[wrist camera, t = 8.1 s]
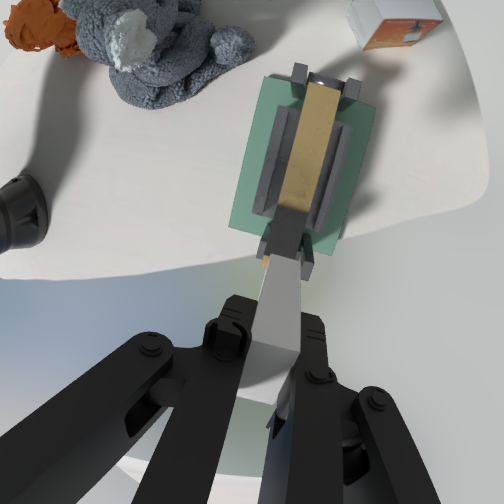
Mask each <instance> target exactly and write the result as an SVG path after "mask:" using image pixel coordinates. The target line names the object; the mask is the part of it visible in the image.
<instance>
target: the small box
mask: <svg viewBox="0 0 504 504" xmlns="http://www.w3.org/2000/svg"><path fill="white" fill-rule="evenodd" d="M347 19H348V21H349V23H350V25H351V27H352V29H353V32H354V34H355V36H356V38H357V40H358V43H359V45H360V47H361V50H367V49H374V48H385V47H403V46H412V45H413V44H414V43H416V42H417V41H418V40H419V39H421V38H422V37H423V36H424V35H426V34H427V33H428V32H430V31H431V30H432V29H433V28H435V27H436V26H437V25H439V24H440V23H441V22H443V19H442V17H441V14H440V13H439V11H438V9H437V7H436V5H435V3H434V2H433V0H353V2H352V5H351V7H350V10H349V13H348V15H347Z"/></svg>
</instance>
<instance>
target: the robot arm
mask: <svg viewBox="0 0 504 504" xmlns="http://www.w3.org/2000/svg"><path fill="white" fill-rule="evenodd" d="M46 230H47V208H46V203H45V199H44V196H43V193H42V191H41V189H40V187H39V185H38V183H37V182H36V181H35V180H34V179H33V178H32V177H31V176H29V175H22V176H18V177H15V178H13V179H12V180H10V181H9V182H8V183H7V184H5V185H4V186H3V187H1V188H0V254H2V253H4V252H6V251H8V250H10V249H22V248H31V247H33V246H35V245H37V244H39V243H40V242H41V241H42V240H43V239H44V237H45V234H46ZM236 396H239V397H243V398H247V399H251V400H255V401H259V402H263V403H267V404H272V405H274V403H275V401H276V400H277V398H278V400H277V408H276V409H275V411H274V413H273V415H272V417H271V418H270V420H269V422H268V424H267V426H266V428H269V427H270V433H269V439H268V446H267V452H266V458H265V464H264V470H263V476H262V482H261V488H260V493H259V499H258V504H441V503H440V500H439V498H438V496H437V493H436V490H435V488H434V486H433V483H432V481H431V479H430V476H429V474H428V472H427V469H426V467H425V465H424V463H423V460H422V458H421V456H420V454H419V451H418V449H417V447H416V445H415V443H414V441H413V439H412V437H411V434H410V432H409V430H408V428H407V426H406V424H405V422H404V420H403V418H402V416H401V414H400V412H399V410H398V408H397V406H396V404H395V402H394V400H393V398H392V397H391V396H390V394H389V393H387V392H386V391H385V390H384V389H381V388H379V387H375V386H368V387H365V388H363V389H362V390H361V391H360V392H359V393H358V392H356V391H353V390H351V389H348V388H346V387H344V386H343V385H341V384H339V383H338V382H337V378H336V375H335V373H334V372H333V370H332V369H331V368H330V367H328V357H327V345H326V335H325V327H324V323H323V322H322V320H321V319H320V317H319V316H316V315H312V314H308V313H304V312H301V270H300V261H297V260H293V259H289V258H286V257H282V256H279V255H275V254H271V255H270V258H269V262H268V265H267V269H266V272H265V276H264V279H263V282H262V286H261V289H260V293H259V296H258V300H257V301H256V300H252V299H249V298H245V297H242V296H238V295H233V296H231V297H230V298H228V299H227V300H226V302H225V304H224V306H223V309H222V311H221V313H220V315H219V317H218V318H215V319H213V320H210V321H209V322H208V323H207V324H206V327H205V332H204V338H203V343H202V345H201V346H198V347H194V348H180V347H174V346H173V344H172V342H171V340H169V339H168V338H167V337H166V336H164V335H162V334H159V333H157V332H142V333H139V334H137V335H135V336H133V337H132V338H131V339H129V340H128V341H127V342H125V343H124V344H123V345H121V346H120V347H119V348H117V349H116V350H115V351H113V352H112V353H111V354H109V355H108V356H107V357H105V358H104V359H103V360H101V361H100V362H99V363H97V364H96V365H95V366H94V367H92V368H91V369H89V370H88V371H87V372H85V373H84V374H83V375H81V376H80V377H79V378H77V380H75V381H73V382H72V383H71V384H69V385H68V386H67V387H66V388H64V389H63V390H62V391H60V392H59V393H58V394H56V395H55V396H54V397H52V398H51V399H50V400H48V401H47V402H46V403H45V404H43V405H42V406H40V407H39V408H38V409H36V410H35V411H34V412H33V413H31V414H30V415H29V416H27V417H26V418H25V419H23V420H22V421H21V422H19V423H18V424H17V425H15V426H14V427H13V428H11V429H10V430H9V431H8V432H6V433H5V434H4V435H2V436H1V437H0V504H76V503H77V502H78V501H79V500H80V499H81V498H82V497H83V496H84V495H85V494H86V493H87V492H88V491H89V490H90V489H91V488H92V487H93V486H94V485H95V484H96V483H97V482H98V481H99V480H100V479H101V478H102V477H103V476H104V475H105V474H106V473H107V472H108V471H109V470H110V469H111V468H112V467H113V466H114V465H115V464H116V463H117V462H118V461H119V460H120V459H121V458H122V457H123V456H124V455H125V454H126V453H127V452H128V451H129V450H130V449H131V447H132V446H133V445H134V444H135V443H136V442H137V441H138V440H139V439H140V438H141V437H142V436H143V435H144V433H146V431H147V430H148V429H149V428H150V427H151V426H152V425H153V424H154V423H155V422H156V421H157V419H158V418H159V417H160V416H161V415H162V414H163V413H164V412H165V411H166V409H167V408H168V407H174V409H173V411H172V413H171V416H170V418H169V420H168V422H167V424H166V427H165V429H164V431H163V433H162V436H161V438H160V440H159V442H158V444H157V447H156V449H155V451H154V453H153V456H152V458H151V460H150V462H149V464H148V467H147V469H146V471H145V473H144V476H143V478H142V480H141V482H140V485H139V487H138V489H137V491H136V494H135V496H134V498H133V501H132V503H131V504H207V501H208V498H209V494H210V491H211V487H212V484H213V480H214V477H215V473H216V469H217V466H218V462H219V458H220V455H221V451H222V448H223V444H224V440H225V437H226V433H227V429H228V425H229V422H230V418H231V414H232V410H233V407H234V403H235V399H236Z"/></svg>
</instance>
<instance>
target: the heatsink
mask: <svg viewBox="0 0 504 504" xmlns="http://www.w3.org/2000/svg"><path fill="white" fill-rule="evenodd" d="M307 70H308V65H304V64H300V63H296V62H295V64H294V68H293V72H292V76H291V80H290V84H291V92H292V98H295V99H299V100H302V98H303V94H304V90H305V86H306V79H307ZM360 86H361V81H358V80H355V79H352V78H348V79H347V81H346V82H345V87H344V91H343V94H342V95H340V98H339V102H338V106H337V111H340V112H343V111H344V110H346V109H347V108H348V107H350V106H351V105H352V104H353V103H355V102H356V101H357V99H358V95H359V91H360ZM301 112H302V111H301V110H297V109H293V108H289V107H285V106H281V105H278V107H277V111H276V115H275V119H274V123H273V127H272V131H271V135H270V139H269V143H268V147H267V151H266V155H265V159H264V163H263V167H262V171H261V175H260V179H259V183H258V187H257V191H256V195H255V199H254V204H253V208H252V212H251V213H253V214H256V215H259V216H264V217H268V218H271V219H273V218H274V214H275V211H276V207H277V204H278V200H279V196H280V192H281V189H282V185H283V181H284V177H285V174H286V170H287V166H288V162H289V158H290V155H291V151H292V147H293V143H294V139H295V135H296V132H297V128H298V124H299V120H300V116H301ZM353 127H354V126H351V125H348V124H345V123H342V122H339V121H335V120H334V122H333V126H332V130H331V134H330V138H329V142H328V145H327V149H326V153H325V157H324V160H323V164H322V167H321V171H320V175H319V178H318V182H317V185H316V189H315V192H314V196H313V199H312V203H311V206H310V209H309V215H308V218H307V222H306V225H305V228H307V229H310V230H313V231H315V232H320V233H323V230H324V227H325V224H326V221H327V218H328V214H329V211H330V208H331V205H332V202H333V198H334V195H335V192H336V188H337V185H338V182H339V178H340V175H341V171H342V168H343V164H344V161H345V157H346V154H347V150H348V146H349V143H350V139H351V135H352V131H353ZM271 225H272V224H271V223H267V225H266V228H265V230H264V233H263V235H262V238H261V240H260V244H259V248H258V251H257V255H256V258H258V259H263V255H264V251H265V248H266V244H267V240H268V237H269V233H270V229H271ZM295 260H297V261H300V270H301V280H305V281H308V280H309V277H310V274H311V272H312V269H313V266H314V256H313V248H312V240H311V235H310V234H306V233H303V235H302V239H301V241H300V245H299V248H298V251H297V254H296V257H295Z"/></svg>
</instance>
